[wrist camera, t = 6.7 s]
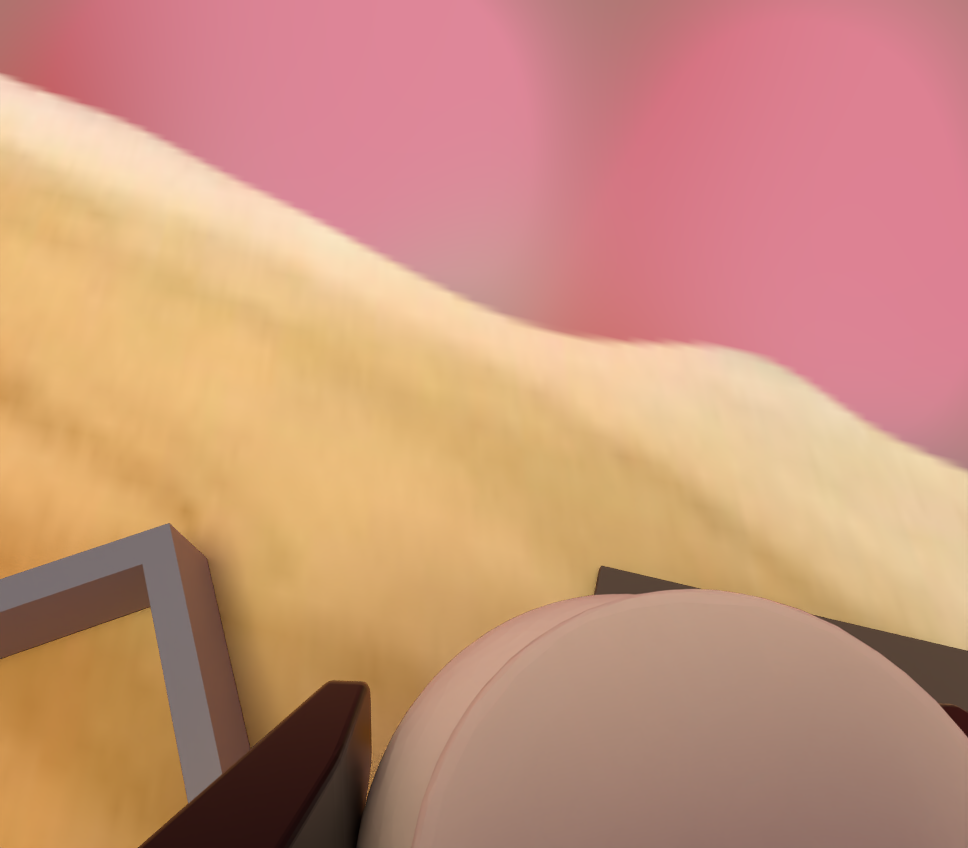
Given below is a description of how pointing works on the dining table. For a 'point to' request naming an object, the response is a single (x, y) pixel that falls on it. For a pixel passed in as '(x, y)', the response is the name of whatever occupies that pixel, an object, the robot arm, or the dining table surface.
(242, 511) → the dining table surface
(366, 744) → the robot arm
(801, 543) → the dining table surface
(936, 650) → the mat
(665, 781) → the supplement bottle
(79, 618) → the grey square frame
